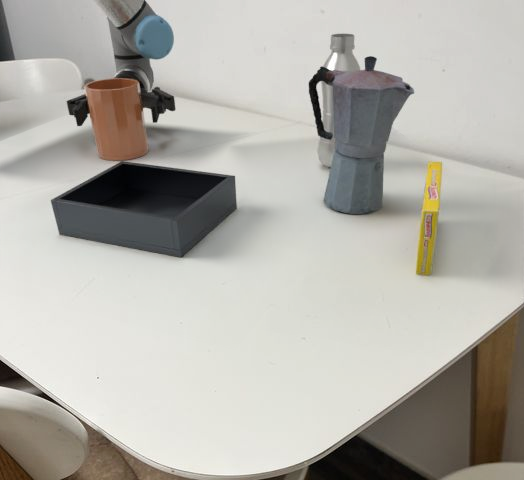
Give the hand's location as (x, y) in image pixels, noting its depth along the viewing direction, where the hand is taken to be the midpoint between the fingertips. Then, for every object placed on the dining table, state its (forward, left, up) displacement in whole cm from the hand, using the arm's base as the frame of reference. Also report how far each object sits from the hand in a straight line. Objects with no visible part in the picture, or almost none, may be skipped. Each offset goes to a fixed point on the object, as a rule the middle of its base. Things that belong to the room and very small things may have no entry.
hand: (115, 116), depth 102 cm
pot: (-1, +1, -7) cm, 7 cm away
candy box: (+59, -18, -7) cm, 62 cm away
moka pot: (+46, -8, -7) cm, 47 cm away
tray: (+21, -24, -7) cm, 32 cm away
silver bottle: (+39, +7, -7) cm, 41 cm away
